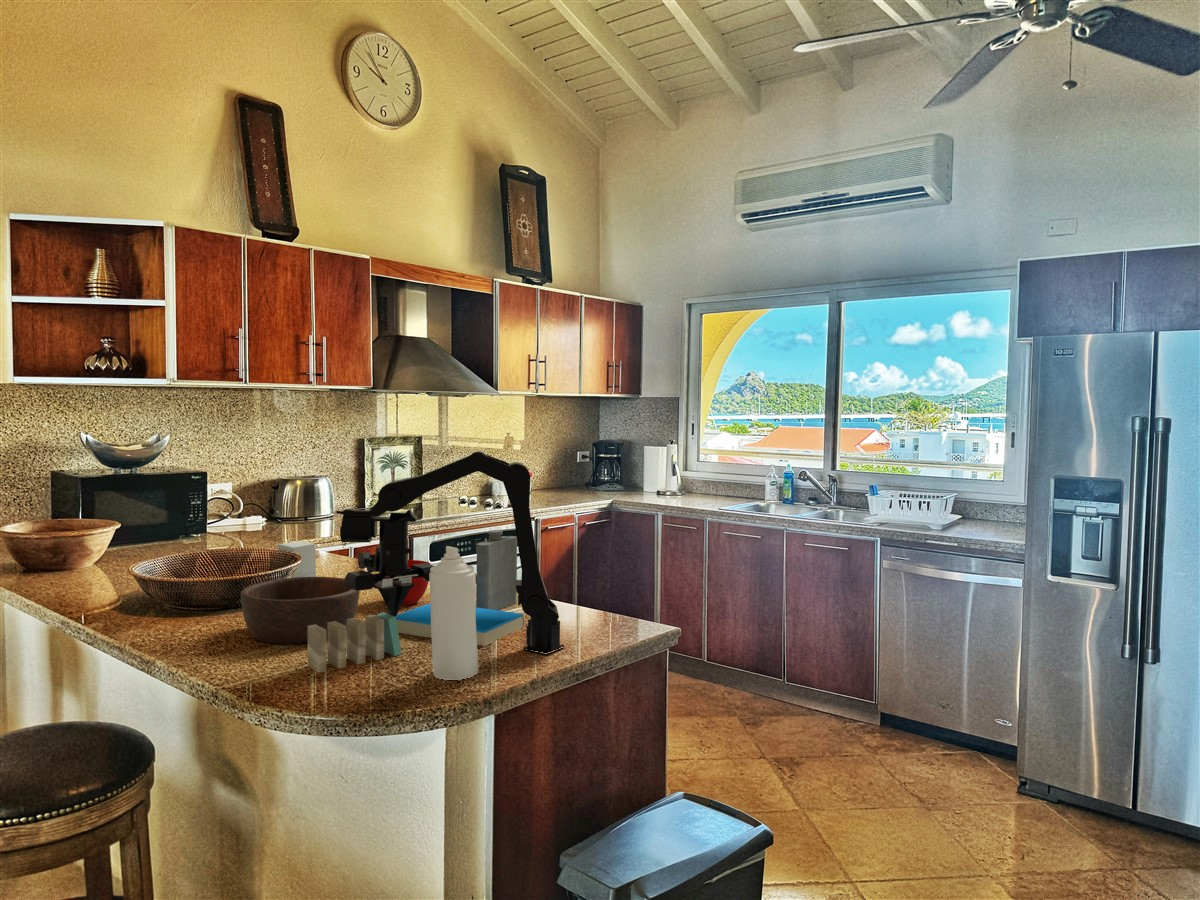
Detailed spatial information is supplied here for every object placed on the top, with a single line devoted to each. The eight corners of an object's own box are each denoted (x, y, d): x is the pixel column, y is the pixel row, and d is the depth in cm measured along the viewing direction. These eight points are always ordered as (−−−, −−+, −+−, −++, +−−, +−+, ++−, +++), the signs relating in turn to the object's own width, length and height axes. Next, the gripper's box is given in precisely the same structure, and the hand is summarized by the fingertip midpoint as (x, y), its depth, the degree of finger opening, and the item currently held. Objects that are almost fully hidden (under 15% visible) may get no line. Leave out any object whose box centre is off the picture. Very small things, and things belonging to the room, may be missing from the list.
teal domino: (395, 656, 165) (388, 619, 164) (383, 650, 169) (376, 614, 167) (401, 653, 166) (395, 616, 165) (389, 648, 170) (383, 612, 168)
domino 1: (315, 664, 159) (315, 624, 159) (326, 670, 155) (326, 629, 155) (307, 666, 158) (307, 625, 158) (318, 672, 154) (318, 631, 154)
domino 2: (335, 660, 162) (335, 621, 161) (346, 666, 158) (346, 626, 158) (327, 662, 161) (327, 622, 160) (338, 668, 157) (338, 627, 157)
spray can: (493, 679, 152) (494, 547, 151) (441, 690, 146) (441, 552, 145) (466, 663, 161) (467, 538, 160) (415, 672, 155) (416, 543, 154)
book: (485, 630, 172) (390, 615, 183) (484, 650, 173) (390, 634, 183) (524, 612, 188) (435, 599, 198) (524, 631, 188) (435, 617, 199)
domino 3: (354, 656, 165) (354, 617, 164) (365, 662, 161) (365, 622, 160) (346, 658, 163) (346, 619, 163) (357, 664, 160) (357, 624, 159)
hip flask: (484, 616, 198) (485, 535, 197) (470, 614, 199) (471, 534, 198) (518, 603, 212) (519, 527, 211) (505, 601, 214) (506, 526, 213)
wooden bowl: (226, 651, 168) (225, 601, 167) (257, 619, 192) (257, 577, 192) (351, 647, 171) (351, 599, 171) (366, 617, 196) (366, 575, 196)
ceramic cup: (443, 595, 220) (443, 558, 220) (418, 610, 203) (418, 570, 203) (398, 592, 222) (398, 556, 222) (370, 607, 206) (370, 568, 205)
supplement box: (300, 584, 230) (300, 540, 230) (316, 588, 226) (316, 543, 225) (277, 589, 224) (276, 543, 224) (292, 593, 220) (292, 546, 219)
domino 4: (372, 653, 167) (372, 614, 167) (384, 658, 164) (384, 619, 163) (365, 654, 166) (365, 615, 166) (376, 660, 162) (376, 620, 162)
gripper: (414, 533, 179) (413, 603, 180) (333, 541, 166) (332, 616, 167) (441, 540, 171) (439, 614, 171) (357, 549, 158) (356, 628, 159)
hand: (392, 617), depth 167 cm, fingers closed
